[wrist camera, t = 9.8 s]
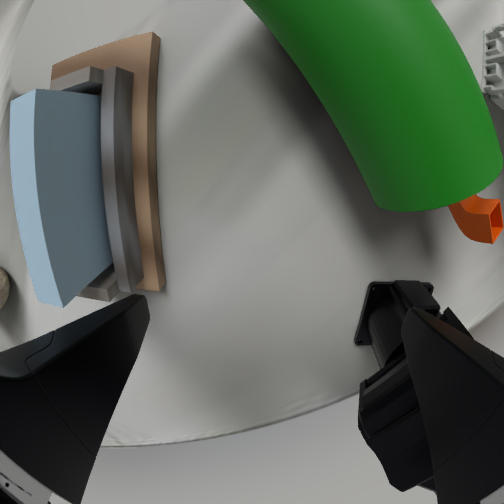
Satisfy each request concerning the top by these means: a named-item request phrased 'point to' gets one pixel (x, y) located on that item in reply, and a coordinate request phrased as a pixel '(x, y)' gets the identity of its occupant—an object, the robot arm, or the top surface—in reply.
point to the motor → (398, 102)
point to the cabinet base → (124, 157)
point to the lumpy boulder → (3, 287)
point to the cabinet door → (59, 190)
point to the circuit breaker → (493, 65)
